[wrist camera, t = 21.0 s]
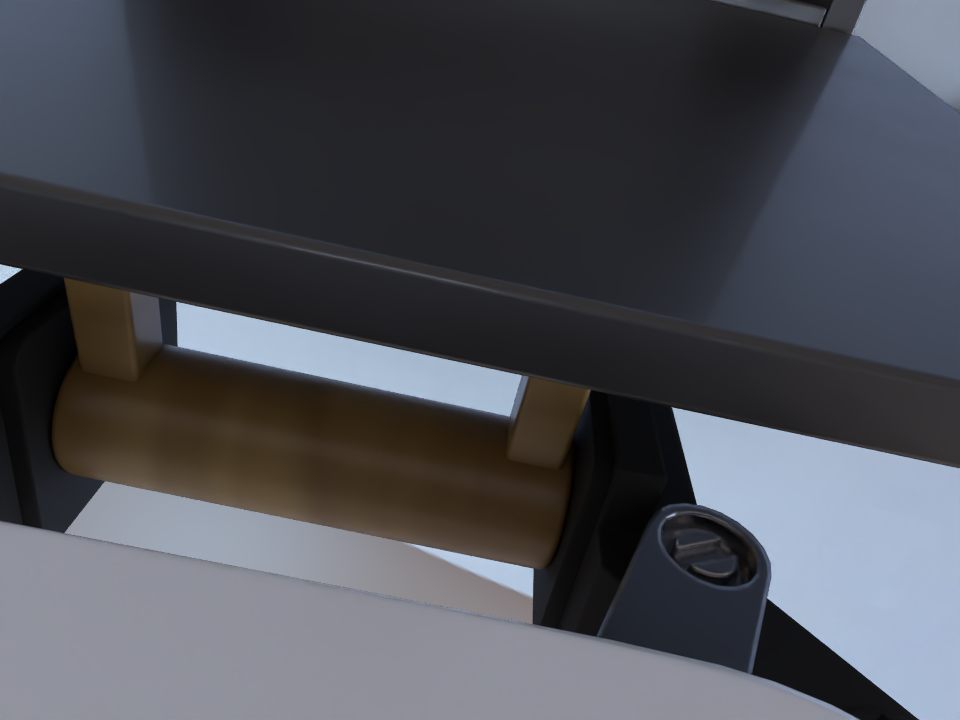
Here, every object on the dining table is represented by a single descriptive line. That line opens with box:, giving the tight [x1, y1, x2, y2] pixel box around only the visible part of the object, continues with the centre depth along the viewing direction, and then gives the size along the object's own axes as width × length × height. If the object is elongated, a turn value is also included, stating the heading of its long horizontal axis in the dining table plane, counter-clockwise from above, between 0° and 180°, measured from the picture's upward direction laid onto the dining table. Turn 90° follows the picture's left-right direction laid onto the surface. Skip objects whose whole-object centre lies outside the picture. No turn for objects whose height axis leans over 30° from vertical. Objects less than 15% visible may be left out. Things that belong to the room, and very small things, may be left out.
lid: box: [0, 0, 960, 569], centre depth 12 cm, size 14×18×5 cm
